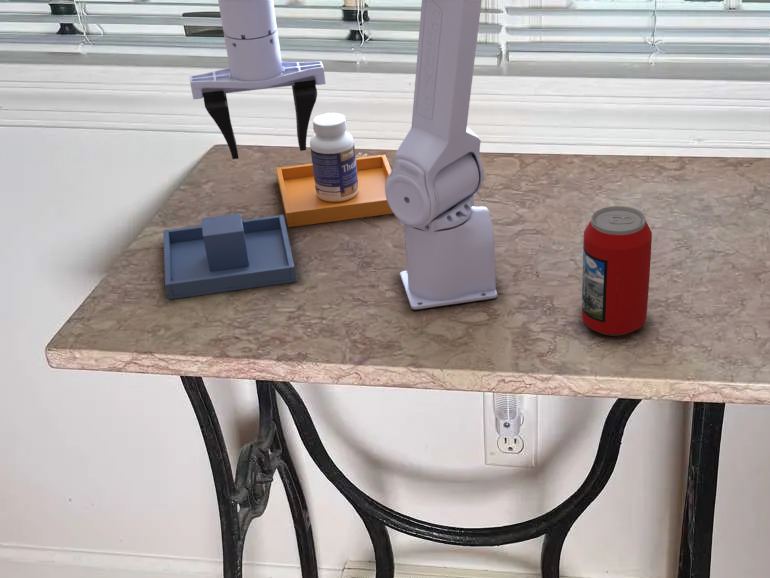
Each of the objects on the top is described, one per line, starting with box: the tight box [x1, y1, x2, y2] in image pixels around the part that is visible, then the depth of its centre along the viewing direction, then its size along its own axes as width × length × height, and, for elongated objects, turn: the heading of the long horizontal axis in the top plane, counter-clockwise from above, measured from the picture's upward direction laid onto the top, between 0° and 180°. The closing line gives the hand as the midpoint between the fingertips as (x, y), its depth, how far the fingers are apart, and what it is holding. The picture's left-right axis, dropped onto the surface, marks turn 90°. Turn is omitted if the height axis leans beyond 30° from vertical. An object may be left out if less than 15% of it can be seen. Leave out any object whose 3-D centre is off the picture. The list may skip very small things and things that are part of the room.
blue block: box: [200, 212, 249, 271], centre depth 135 cm, size 4×4×4 cm
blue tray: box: [162, 214, 298, 300], centre depth 136 cm, size 14×13×2 cm
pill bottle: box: [309, 112, 358, 202], centre depth 146 cm, size 5×5×10 cm
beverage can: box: [581, 205, 653, 337], centre depth 120 cm, size 7×7×12 cm
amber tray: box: [275, 154, 394, 228], centre depth 149 cm, size 14×13×2 cm
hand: (268, 151), depth 135 cm, fingers open, 7 cm apart
